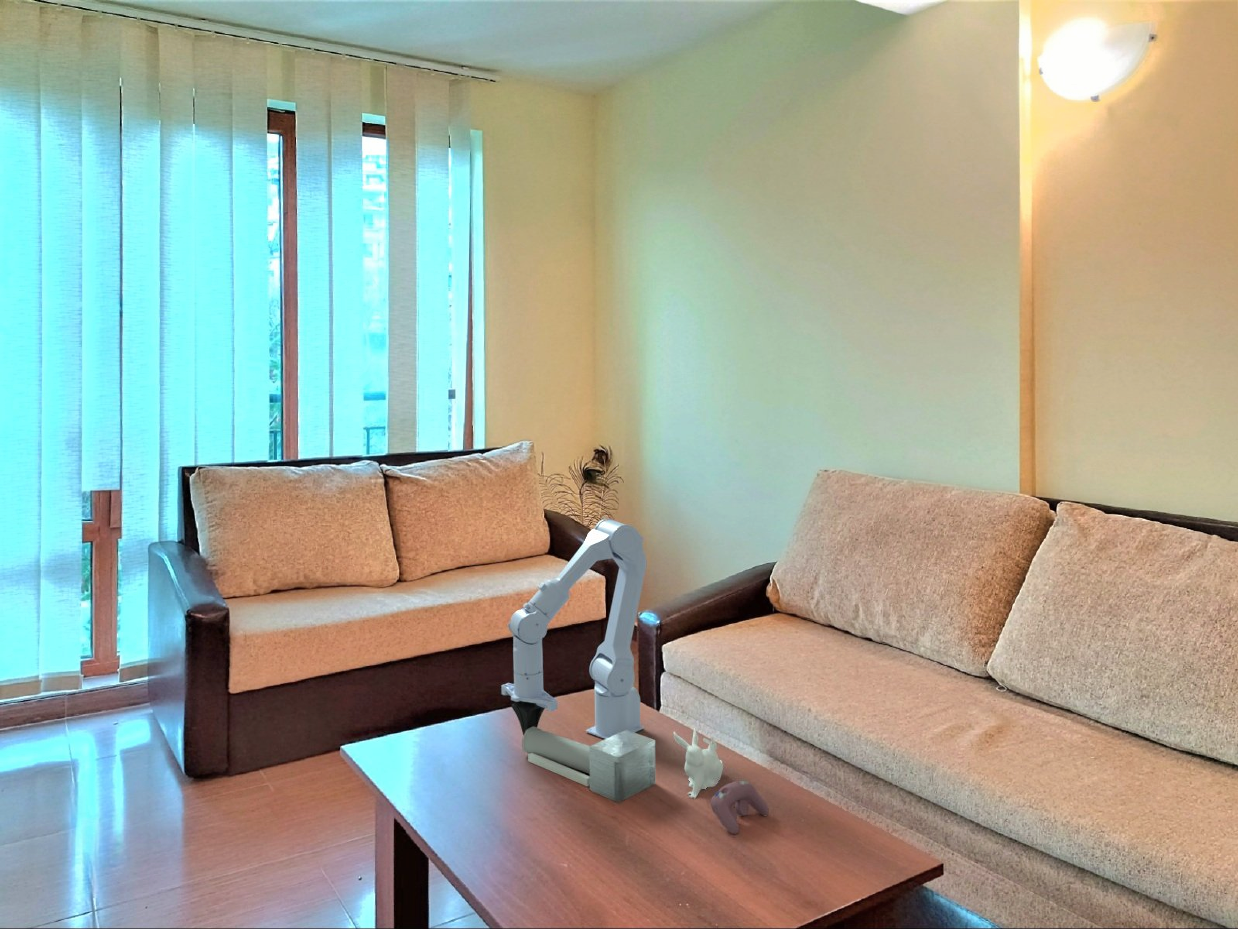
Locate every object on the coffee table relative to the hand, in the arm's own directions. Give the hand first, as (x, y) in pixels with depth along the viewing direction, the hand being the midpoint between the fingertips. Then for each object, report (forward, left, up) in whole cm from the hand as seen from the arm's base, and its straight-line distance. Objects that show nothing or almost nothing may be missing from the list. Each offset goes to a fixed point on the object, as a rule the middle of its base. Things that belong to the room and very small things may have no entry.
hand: (529, 737), depth 178 cm
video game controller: (-4, +48, -3) cm, 48 cm away
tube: (0, +14, -2) cm, 14 cm away
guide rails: (0, +12, -2) cm, 12 cm away
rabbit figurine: (-10, +34, -3) cm, 35 cm away
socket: (0, +25, -2) cm, 25 cm away
